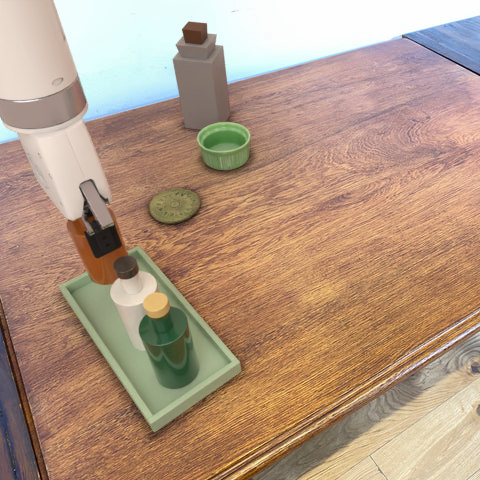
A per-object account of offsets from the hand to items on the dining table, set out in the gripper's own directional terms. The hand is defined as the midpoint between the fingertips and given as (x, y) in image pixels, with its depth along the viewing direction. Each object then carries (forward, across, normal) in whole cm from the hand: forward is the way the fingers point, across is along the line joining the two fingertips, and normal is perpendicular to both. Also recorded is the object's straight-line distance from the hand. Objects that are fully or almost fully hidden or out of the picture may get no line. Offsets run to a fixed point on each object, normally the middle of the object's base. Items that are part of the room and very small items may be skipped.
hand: (96, 236), depth 60 cm
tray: (+11, +7, 0) cm, 13 cm away
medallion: (+11, -11, +14) cm, 21 cm away
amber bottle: (+6, 0, 0) cm, 6 cm away
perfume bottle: (+11, -29, +32) cm, 44 cm away
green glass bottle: (+11, +15, 0) cm, 18 cm away
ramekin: (+11, -17, +28) cm, 34 cm away
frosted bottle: (+11, +8, 0) cm, 14 cm away
